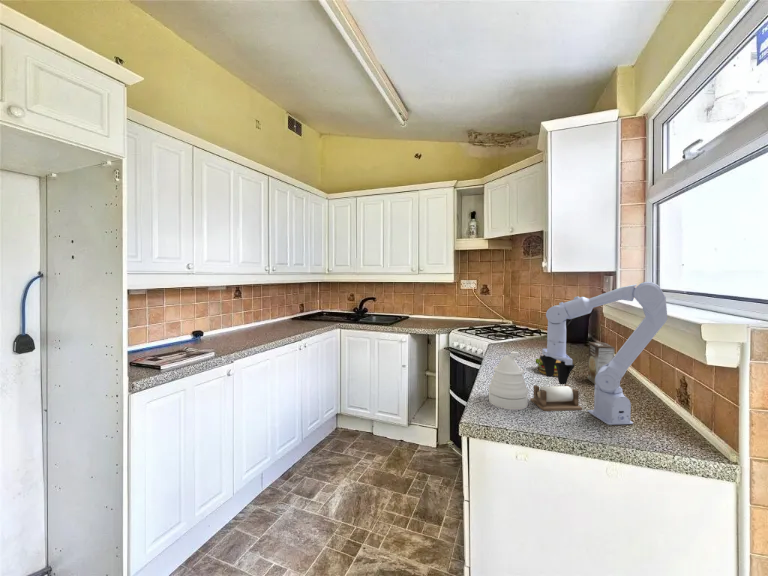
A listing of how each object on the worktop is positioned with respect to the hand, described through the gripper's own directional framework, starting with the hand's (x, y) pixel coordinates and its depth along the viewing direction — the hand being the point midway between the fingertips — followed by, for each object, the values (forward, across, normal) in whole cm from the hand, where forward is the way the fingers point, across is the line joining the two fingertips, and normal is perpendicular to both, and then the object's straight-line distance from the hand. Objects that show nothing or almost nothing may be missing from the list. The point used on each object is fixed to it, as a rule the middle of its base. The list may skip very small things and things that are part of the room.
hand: (556, 380), depth 112 cm
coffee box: (+9, -20, +31) cm, 38 cm away
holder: (+9, 0, 0) cm, 9 cm away
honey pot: (+9, -4, -15) cm, 18 cm away
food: (+9, -35, +20) cm, 41 cm away
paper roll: (+5, 0, 0) cm, 5 cm away
